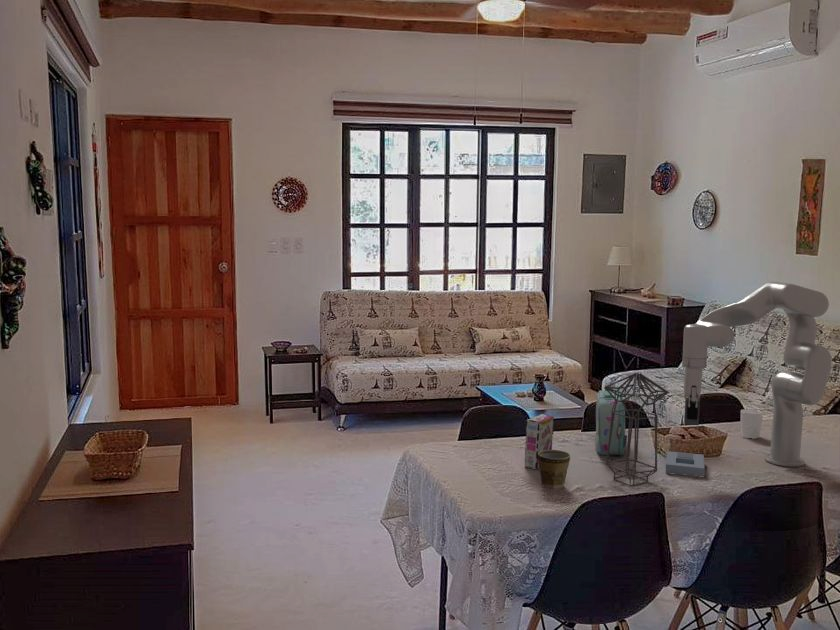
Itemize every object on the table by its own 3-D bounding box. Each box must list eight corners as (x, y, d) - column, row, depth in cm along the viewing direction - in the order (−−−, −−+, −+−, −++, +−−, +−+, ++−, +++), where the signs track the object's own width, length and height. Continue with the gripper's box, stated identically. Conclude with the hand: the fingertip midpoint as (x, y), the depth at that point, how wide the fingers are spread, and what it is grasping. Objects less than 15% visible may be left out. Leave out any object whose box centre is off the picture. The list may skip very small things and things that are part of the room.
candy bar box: (537, 470, 269) (539, 422, 267) (524, 467, 272) (525, 419, 270) (552, 462, 278) (554, 415, 276) (539, 459, 281) (541, 413, 279)
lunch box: (626, 460, 281) (629, 400, 279) (596, 459, 283) (599, 398, 280) (621, 440, 307) (623, 384, 305) (593, 438, 309) (595, 383, 306)
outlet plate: (666, 459, 283) (667, 450, 283) (703, 463, 280) (703, 454, 279) (665, 473, 268) (665, 463, 268) (703, 477, 265) (704, 467, 264)
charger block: (684, 421, 270) (685, 397, 269) (698, 422, 268) (699, 397, 267) (684, 424, 265) (685, 400, 264) (698, 425, 264) (699, 400, 263)
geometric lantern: (595, 477, 263) (601, 370, 260) (632, 471, 271) (637, 367, 268) (630, 491, 250) (636, 378, 246) (667, 484, 257) (674, 375, 254)
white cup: (735, 434, 318) (736, 409, 317) (754, 433, 319) (756, 408, 318) (745, 439, 311) (747, 414, 309) (765, 439, 311) (766, 413, 310)
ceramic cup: (574, 489, 251) (576, 457, 250) (545, 491, 248) (546, 460, 247) (556, 476, 264) (557, 446, 262) (527, 478, 261) (528, 448, 260)
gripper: (681, 357, 273) (679, 410, 276) (683, 366, 257) (680, 422, 260) (705, 358, 271) (702, 412, 274) (708, 367, 255) (705, 424, 258)
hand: (691, 416), depth 267 cm, fingers closed on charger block, 4 cm apart
